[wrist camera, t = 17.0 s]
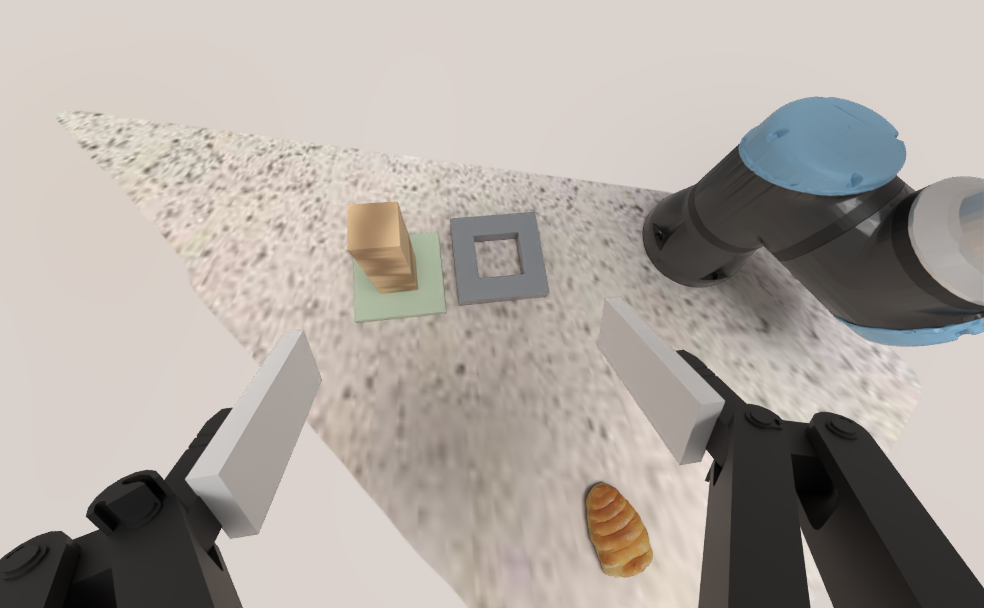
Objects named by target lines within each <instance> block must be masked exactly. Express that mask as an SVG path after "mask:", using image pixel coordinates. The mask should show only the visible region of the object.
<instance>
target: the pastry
mask: <svg viewBox="0 0 984 608" xmlns="http://www.w3.org/2000/svg"><path fill="white" fill-rule="evenodd" d="M586 505H587V520H588V529H589V533H590V539H591V542H592V543H593V544H594V546H595V549H596V552H597V555H598V557H599V559H600V562H601V565H602V570H603V572H604V573H605V574H606V575H608V576H614V577H631V576H634V575H636V574H638V573H641V572H643V571H644V570H645V568H646V567H647V566H649V564H650V563H651V561H652V557H653V552H652V549H651V547H650V543H649V537H648V533H647V530H646V528H645V526H644V525H643V523H642V521H641V518H640V516H639V514H638V513H637V512H636V511H635V509H634V508H633V507H632V506H631V505H630V504H629V502H628V501H627V500H626V499H625V498H624V497H623V496H622V495H621V494H620V493H619V491H618V490H617V489H616V488H614V487H611V486H609V485H608V484H606V483H599V484H596V485H595V486H594V487H593V488H592V489H591V491H590V492H589V494H588V497H587V499H586Z"/></svg>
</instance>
